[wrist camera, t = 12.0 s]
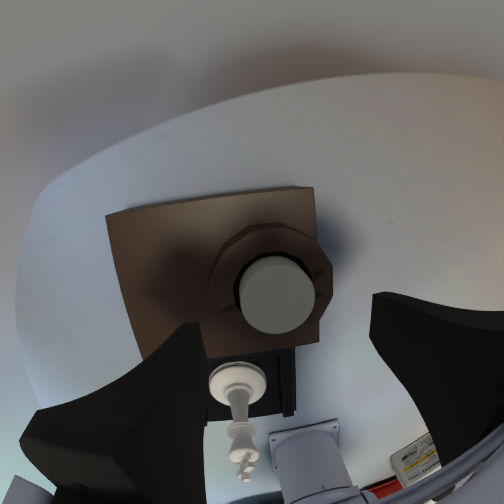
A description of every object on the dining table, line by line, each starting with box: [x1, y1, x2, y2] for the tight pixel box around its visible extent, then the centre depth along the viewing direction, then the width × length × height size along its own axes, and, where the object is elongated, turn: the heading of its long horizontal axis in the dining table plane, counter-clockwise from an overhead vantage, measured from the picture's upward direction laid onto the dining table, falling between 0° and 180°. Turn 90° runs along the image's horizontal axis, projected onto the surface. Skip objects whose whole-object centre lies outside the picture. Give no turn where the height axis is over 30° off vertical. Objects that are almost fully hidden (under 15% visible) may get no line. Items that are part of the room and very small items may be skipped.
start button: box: [239, 256, 315, 334], centre depth 14 cm, size 4×4×2 cm
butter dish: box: [367, 478, 403, 499], centre depth 30 cm, size 12×12×8 cm
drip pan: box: [204, 347, 296, 427], centre depth 21 cm, size 10×10×2 cm
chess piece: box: [209, 361, 266, 482], centre depth 17 cm, size 5×5×10 cm
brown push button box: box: [105, 186, 333, 361], centre depth 17 cm, size 10×12×6 cm
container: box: [391, 433, 455, 504], centre depth 25 cm, size 8×8×13 cm
